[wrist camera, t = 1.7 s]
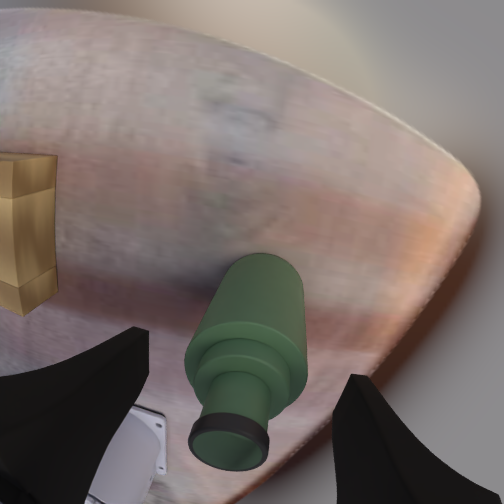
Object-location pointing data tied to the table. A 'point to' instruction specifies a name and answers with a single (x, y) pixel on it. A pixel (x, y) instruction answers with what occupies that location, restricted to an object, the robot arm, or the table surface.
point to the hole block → (27, 230)
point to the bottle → (247, 361)
